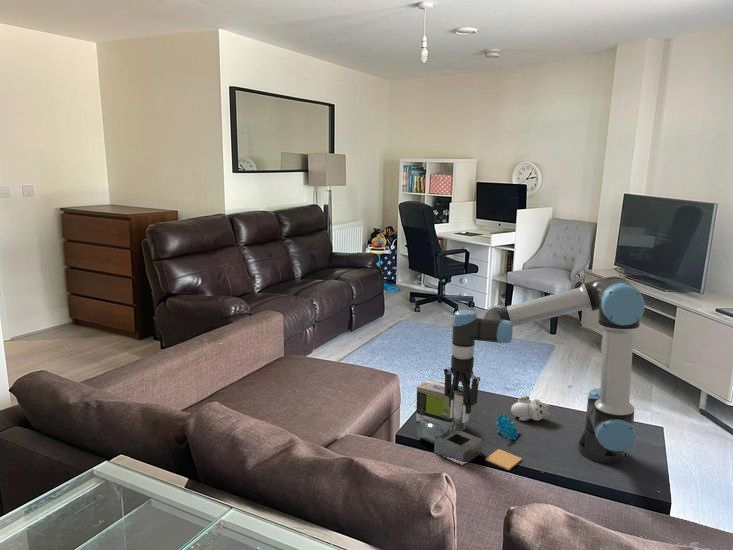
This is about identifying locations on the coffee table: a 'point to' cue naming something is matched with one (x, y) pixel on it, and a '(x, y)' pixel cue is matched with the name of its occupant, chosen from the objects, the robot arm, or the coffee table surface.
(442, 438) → the grey piece
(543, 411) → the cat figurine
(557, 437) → the coffee table surface
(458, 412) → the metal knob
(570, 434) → the coffee table surface
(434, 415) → the tea box
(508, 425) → the gear
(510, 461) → the pad
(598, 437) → the robot arm
